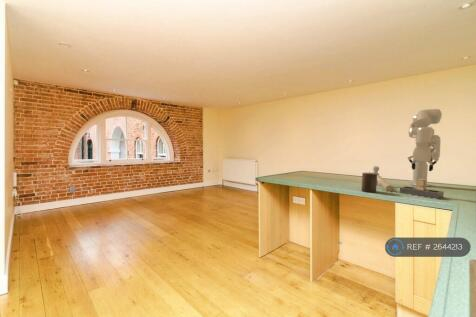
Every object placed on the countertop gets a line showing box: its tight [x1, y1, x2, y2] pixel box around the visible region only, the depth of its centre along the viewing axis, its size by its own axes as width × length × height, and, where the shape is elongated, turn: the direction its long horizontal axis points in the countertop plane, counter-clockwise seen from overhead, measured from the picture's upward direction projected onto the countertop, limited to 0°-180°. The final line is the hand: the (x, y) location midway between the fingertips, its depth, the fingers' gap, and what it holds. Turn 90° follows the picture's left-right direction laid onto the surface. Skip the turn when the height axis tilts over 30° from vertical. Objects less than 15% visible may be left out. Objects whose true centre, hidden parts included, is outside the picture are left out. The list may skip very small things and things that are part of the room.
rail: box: [399, 185, 445, 200], centre depth 160 cm, size 9×22×4 cm, turn 32°
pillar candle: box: [361, 171, 378, 194], centre depth 172 cm, size 10×10×15 cm
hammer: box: [371, 165, 394, 192], centre depth 186 cm, size 16×5×30 cm
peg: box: [415, 179, 427, 190], centre depth 160 cm, size 4×4×10 cm
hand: (421, 170), depth 159 cm, fingers open, 9 cm apart
